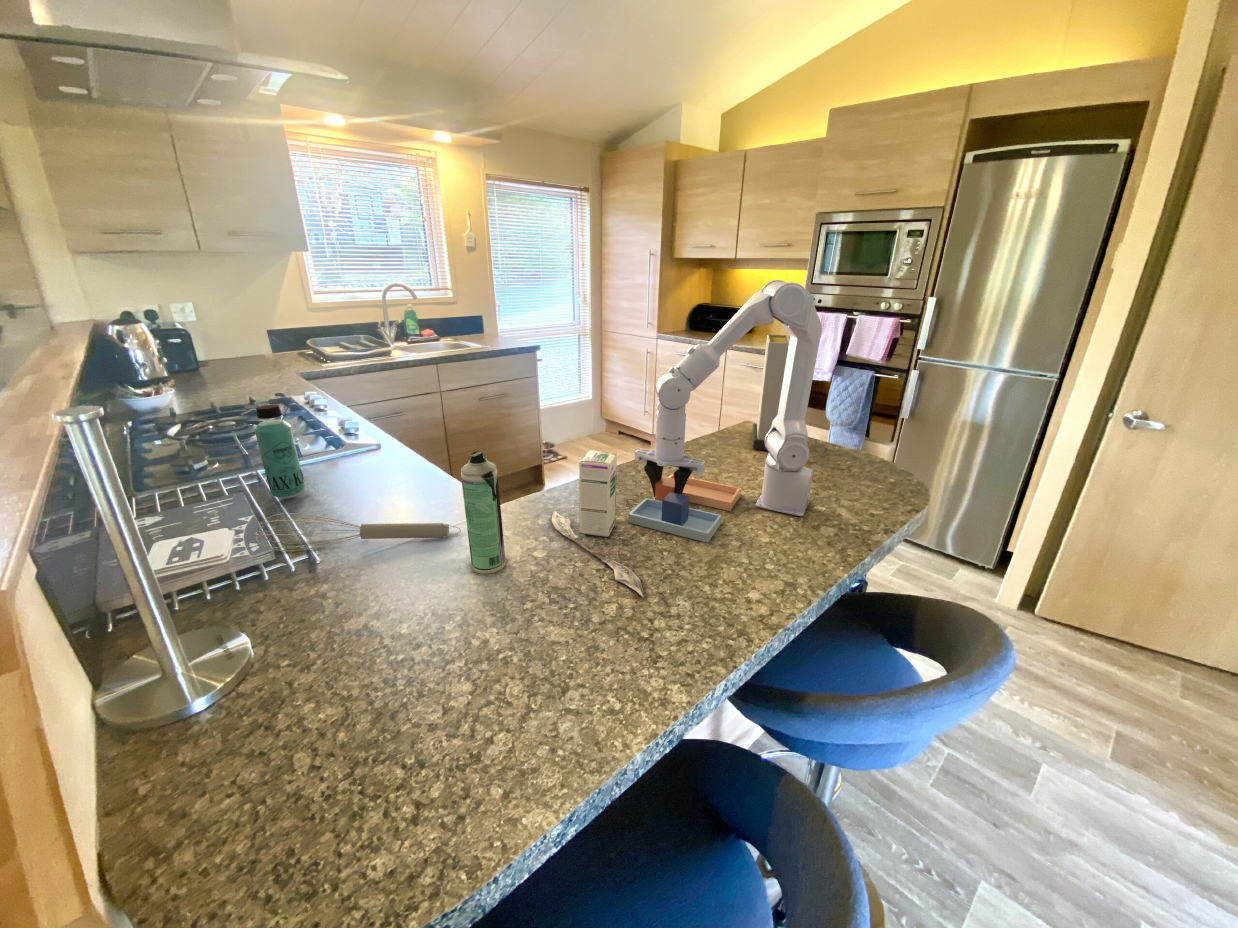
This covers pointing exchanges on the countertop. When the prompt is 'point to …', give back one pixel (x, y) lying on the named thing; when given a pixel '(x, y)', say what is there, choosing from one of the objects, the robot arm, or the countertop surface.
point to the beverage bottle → (278, 453)
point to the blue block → (675, 508)
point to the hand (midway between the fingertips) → (667, 497)
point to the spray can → (483, 514)
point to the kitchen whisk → (372, 531)
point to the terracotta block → (664, 488)
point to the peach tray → (711, 493)
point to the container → (770, 387)
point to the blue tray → (695, 527)
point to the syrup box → (597, 493)
